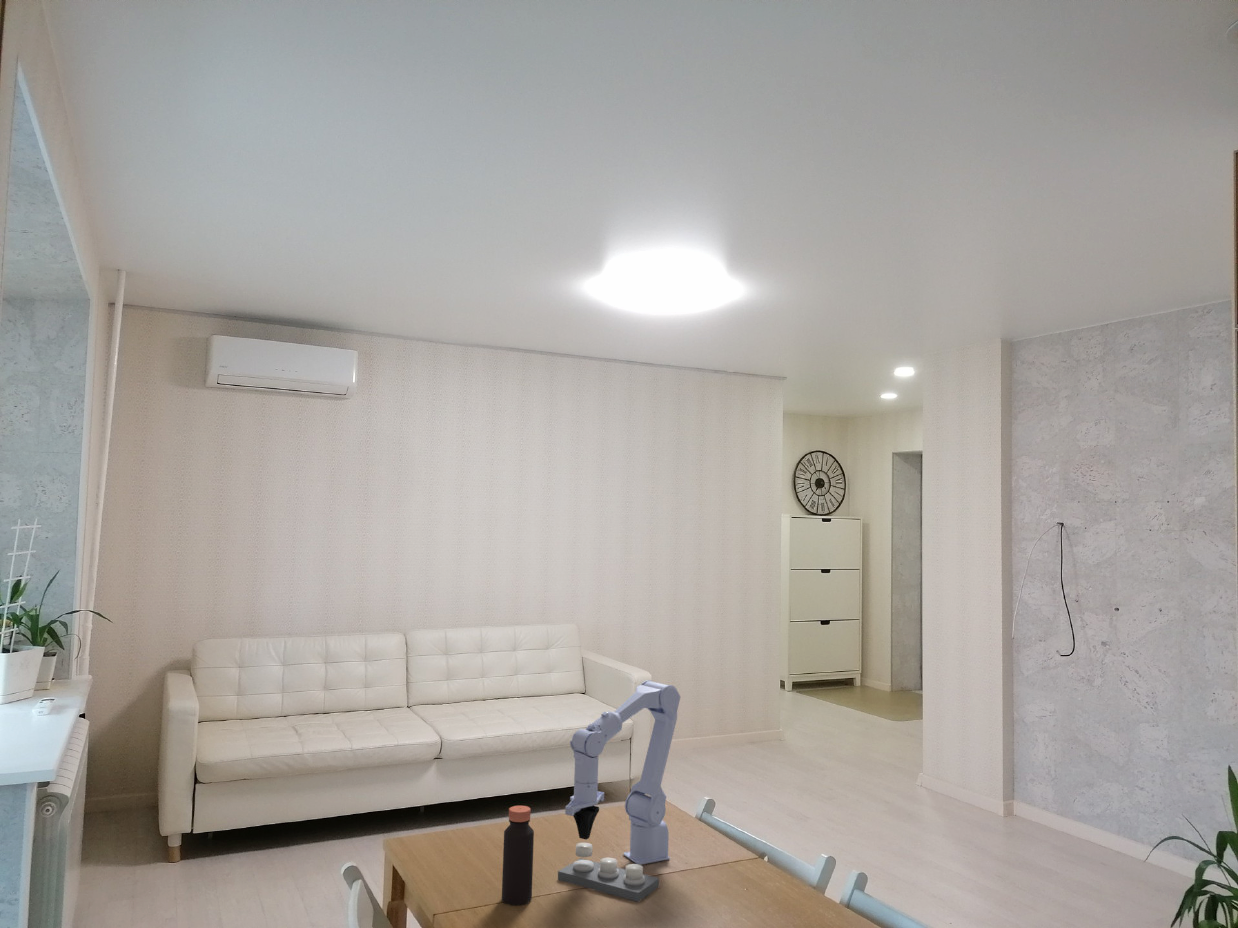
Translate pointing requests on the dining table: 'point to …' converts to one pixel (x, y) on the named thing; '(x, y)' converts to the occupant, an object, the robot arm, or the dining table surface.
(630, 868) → the knob
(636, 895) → the knob panel
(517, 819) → the bottle
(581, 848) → the knob
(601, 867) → the knob
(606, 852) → the dining table surface
